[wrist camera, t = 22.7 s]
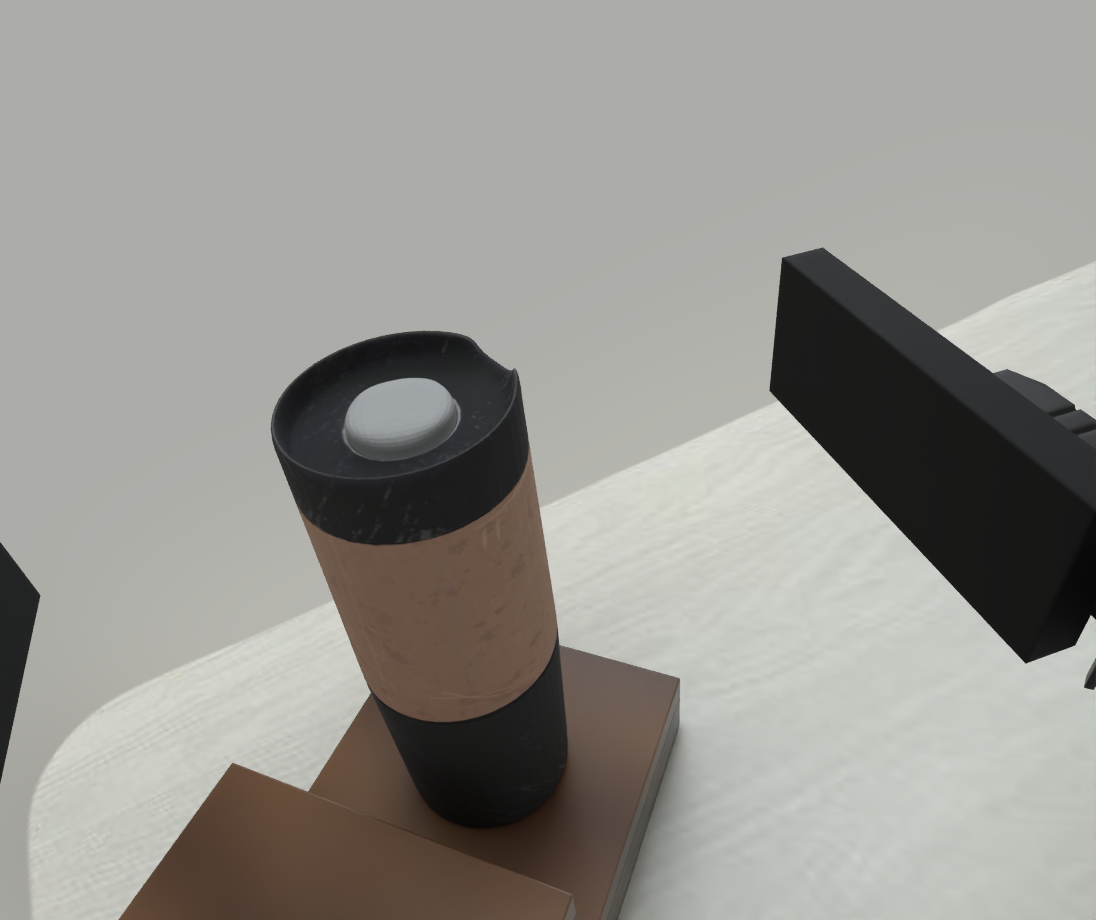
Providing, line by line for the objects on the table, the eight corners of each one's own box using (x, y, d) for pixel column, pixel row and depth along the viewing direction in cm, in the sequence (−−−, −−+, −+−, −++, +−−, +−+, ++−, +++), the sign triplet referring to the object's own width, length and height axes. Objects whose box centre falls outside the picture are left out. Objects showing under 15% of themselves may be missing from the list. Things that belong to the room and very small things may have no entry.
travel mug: (386, 829, 35) (221, 481, 22) (428, 676, 41) (315, 329, 28) (564, 843, 34) (499, 485, 21) (582, 684, 40) (539, 325, 27)
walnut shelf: (438, 652, 47) (401, 528, 40) (679, 723, 42) (681, 596, 36) (172, 1101, 32) (46, 1017, 25) (498, 1291, 27) (445, 1249, 21)
